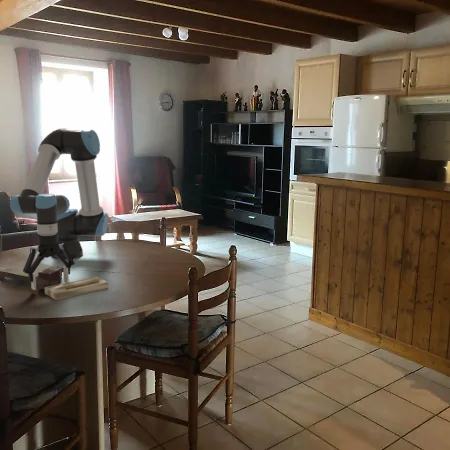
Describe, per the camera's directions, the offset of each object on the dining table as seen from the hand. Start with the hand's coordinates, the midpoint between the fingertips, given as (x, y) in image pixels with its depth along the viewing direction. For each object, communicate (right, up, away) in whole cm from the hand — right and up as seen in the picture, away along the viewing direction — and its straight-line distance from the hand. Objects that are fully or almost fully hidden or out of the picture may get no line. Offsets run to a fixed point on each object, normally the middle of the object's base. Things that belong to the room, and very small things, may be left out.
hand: (50, 285), depth 190 cm
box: (-1, -1, +1) cm, 2 cm away
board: (+11, -2, -1) cm, 11 cm away
